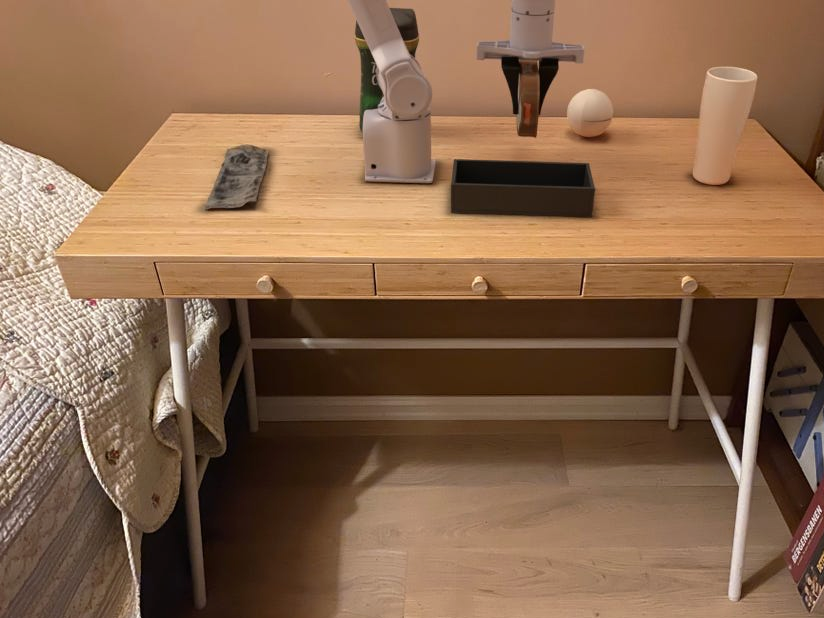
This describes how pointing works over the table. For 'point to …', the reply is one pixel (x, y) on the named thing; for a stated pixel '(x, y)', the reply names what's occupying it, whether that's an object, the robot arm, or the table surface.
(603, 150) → the table surface
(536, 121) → the tin
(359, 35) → the coffee jar
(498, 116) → the table surface
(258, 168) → the driftwood
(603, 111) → the white ball
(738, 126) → the drinking glass
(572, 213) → the bin
